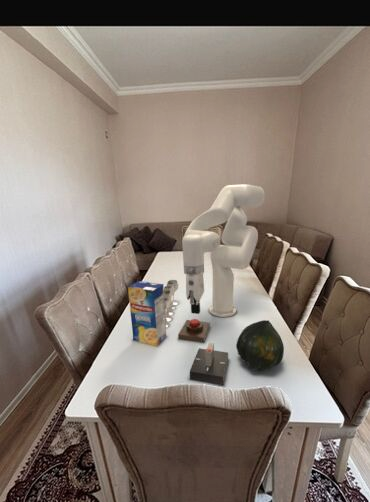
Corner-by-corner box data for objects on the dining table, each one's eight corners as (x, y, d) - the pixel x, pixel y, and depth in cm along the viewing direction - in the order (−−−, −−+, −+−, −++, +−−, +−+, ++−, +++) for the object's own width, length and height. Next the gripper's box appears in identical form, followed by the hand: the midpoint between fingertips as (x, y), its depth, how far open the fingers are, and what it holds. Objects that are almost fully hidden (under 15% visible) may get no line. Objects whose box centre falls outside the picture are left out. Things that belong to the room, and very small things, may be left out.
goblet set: (168, 328, 104) (167, 299, 100) (155, 328, 105) (153, 299, 101) (179, 301, 130) (179, 277, 126) (169, 301, 131) (167, 277, 127)
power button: (191, 322, 101) (191, 318, 101) (200, 323, 100) (200, 319, 100) (189, 326, 98) (188, 322, 97) (198, 327, 97) (197, 323, 96)
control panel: (198, 355, 86) (198, 347, 85) (228, 360, 83) (228, 352, 82) (189, 379, 75) (189, 370, 74) (223, 385, 72) (223, 376, 71)
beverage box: (157, 346, 92) (153, 290, 86) (133, 340, 97) (127, 286, 90) (166, 336, 98) (163, 284, 91) (143, 331, 102) (138, 280, 96)
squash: (228, 358, 75) (265, 326, 71) (228, 334, 90) (259, 306, 85) (262, 388, 76) (301, 359, 71) (257, 359, 90) (289, 333, 86)
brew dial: (209, 356, 81) (209, 341, 79) (213, 356, 80) (214, 342, 79) (205, 365, 76) (205, 351, 75) (211, 366, 76) (211, 351, 74)
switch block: (186, 324, 107) (186, 315, 106) (209, 327, 104) (209, 318, 103) (178, 339, 96) (178, 330, 95) (203, 342, 93) (203, 333, 92)
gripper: (199, 275, 85) (200, 323, 91) (207, 262, 98) (208, 305, 104) (178, 274, 87) (181, 321, 93) (189, 262, 100) (191, 303, 106)
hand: (195, 312), depth 98 cm, fingers closed
